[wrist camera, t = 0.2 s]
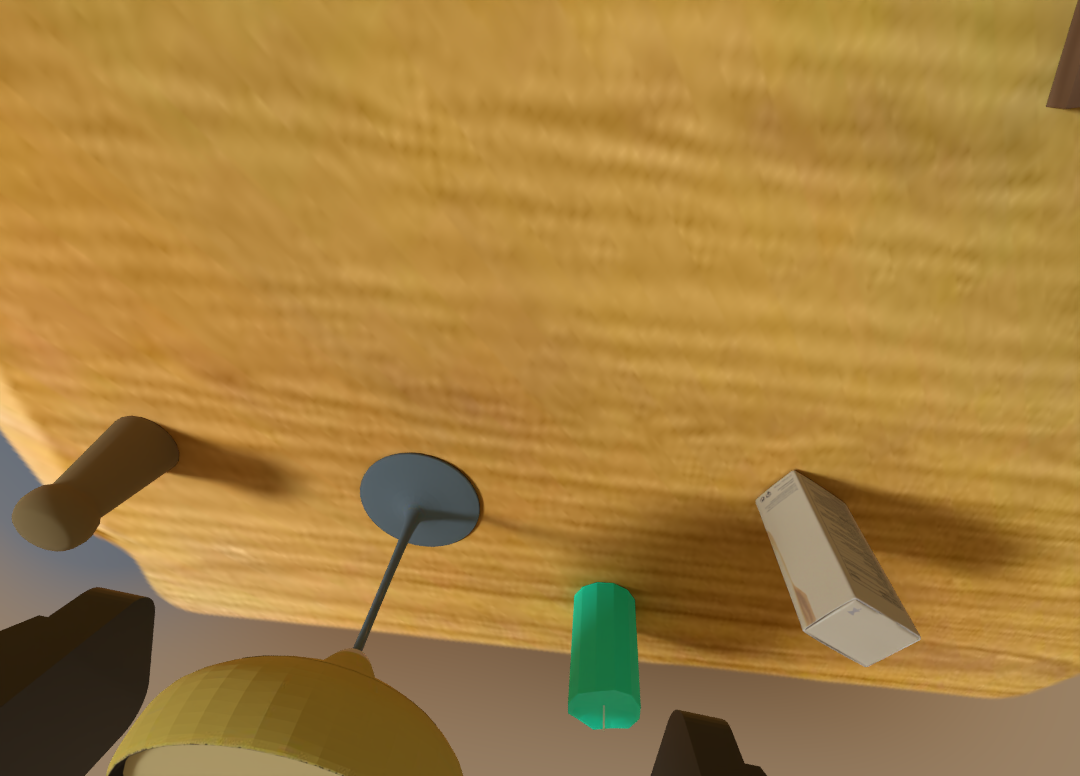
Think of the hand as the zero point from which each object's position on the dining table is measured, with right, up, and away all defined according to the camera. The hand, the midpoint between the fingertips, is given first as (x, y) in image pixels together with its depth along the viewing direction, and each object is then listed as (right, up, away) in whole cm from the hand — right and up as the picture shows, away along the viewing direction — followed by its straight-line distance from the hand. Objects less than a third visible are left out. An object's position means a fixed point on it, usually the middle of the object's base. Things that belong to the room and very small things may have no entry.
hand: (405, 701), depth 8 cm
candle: (+8, -16, +46) cm, 49 cm away
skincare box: (+23, -4, +37) cm, 44 cm away
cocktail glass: (-9, -5, +41) cm, 42 cm away
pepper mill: (-33, 0, +41) cm, 53 cm away
